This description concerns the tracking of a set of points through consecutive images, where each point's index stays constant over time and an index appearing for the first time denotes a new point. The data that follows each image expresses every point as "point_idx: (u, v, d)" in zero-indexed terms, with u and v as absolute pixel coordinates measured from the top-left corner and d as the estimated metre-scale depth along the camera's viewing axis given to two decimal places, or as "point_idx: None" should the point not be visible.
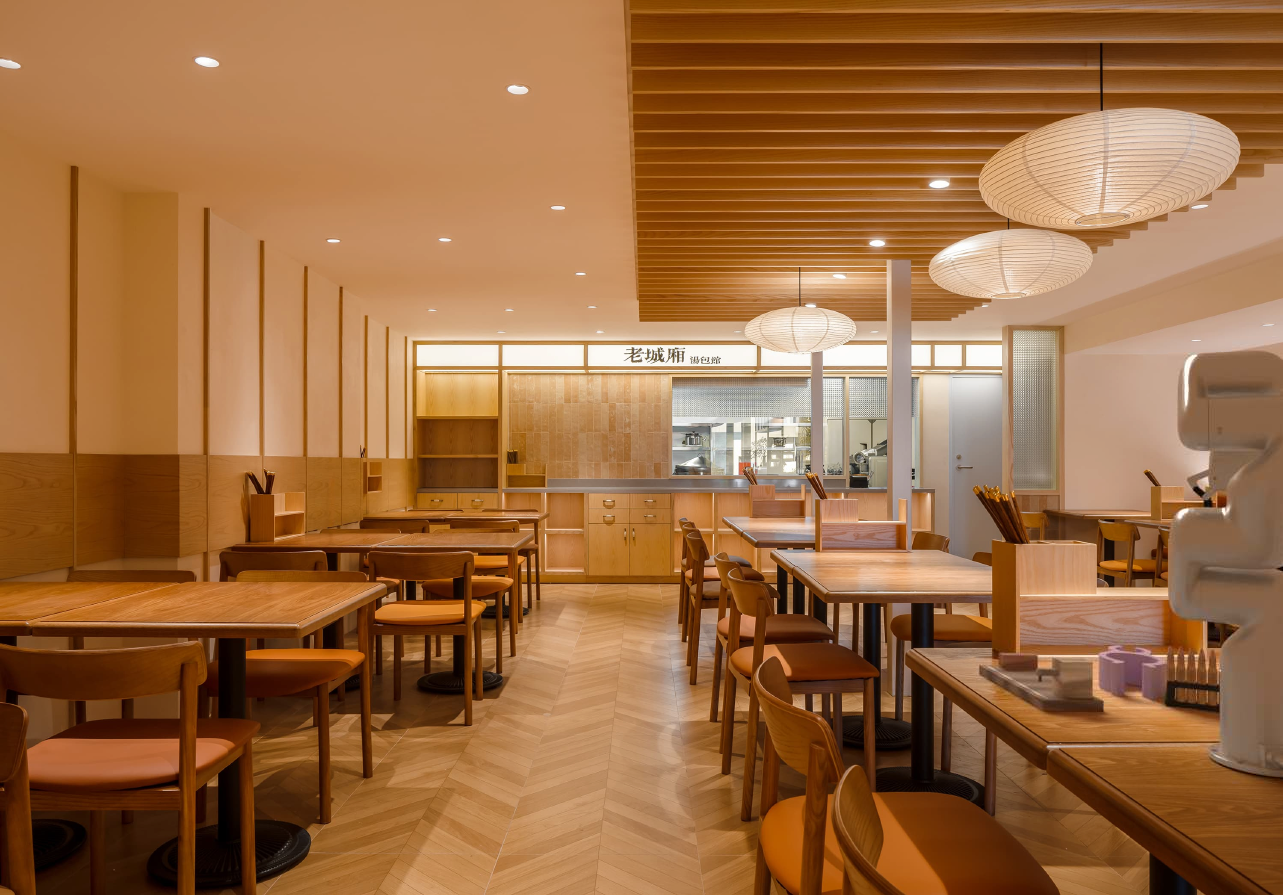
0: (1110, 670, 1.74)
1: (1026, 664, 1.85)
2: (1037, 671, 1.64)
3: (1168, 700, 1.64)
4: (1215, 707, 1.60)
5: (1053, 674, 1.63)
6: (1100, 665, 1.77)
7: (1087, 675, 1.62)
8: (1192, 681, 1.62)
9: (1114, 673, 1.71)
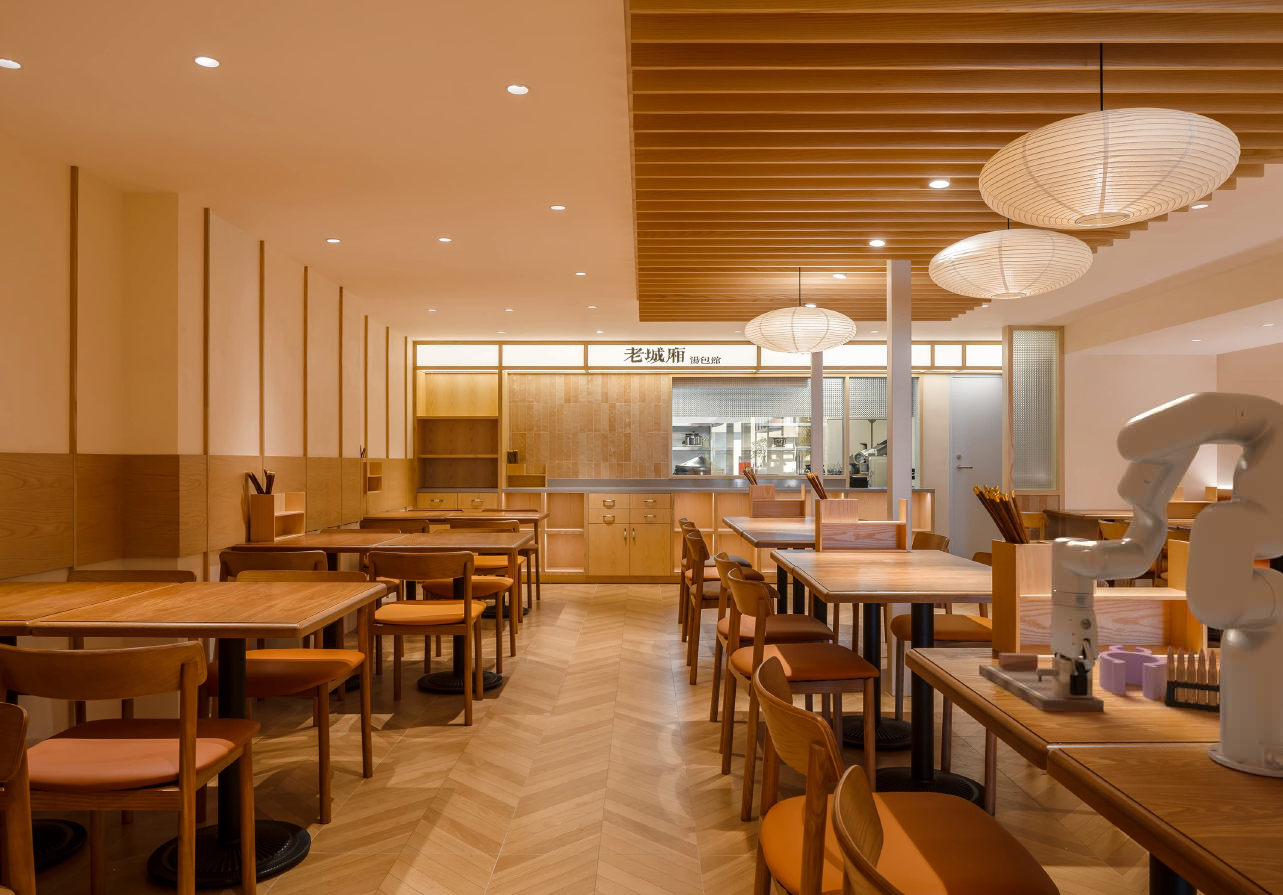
0: (1111, 670, 1.74)
1: (1026, 664, 1.85)
2: (1036, 671, 1.64)
3: (1168, 700, 1.64)
4: (1215, 707, 1.60)
5: (1053, 674, 1.63)
6: (1101, 665, 1.77)
7: None
8: (1192, 681, 1.62)
9: (1115, 673, 1.72)
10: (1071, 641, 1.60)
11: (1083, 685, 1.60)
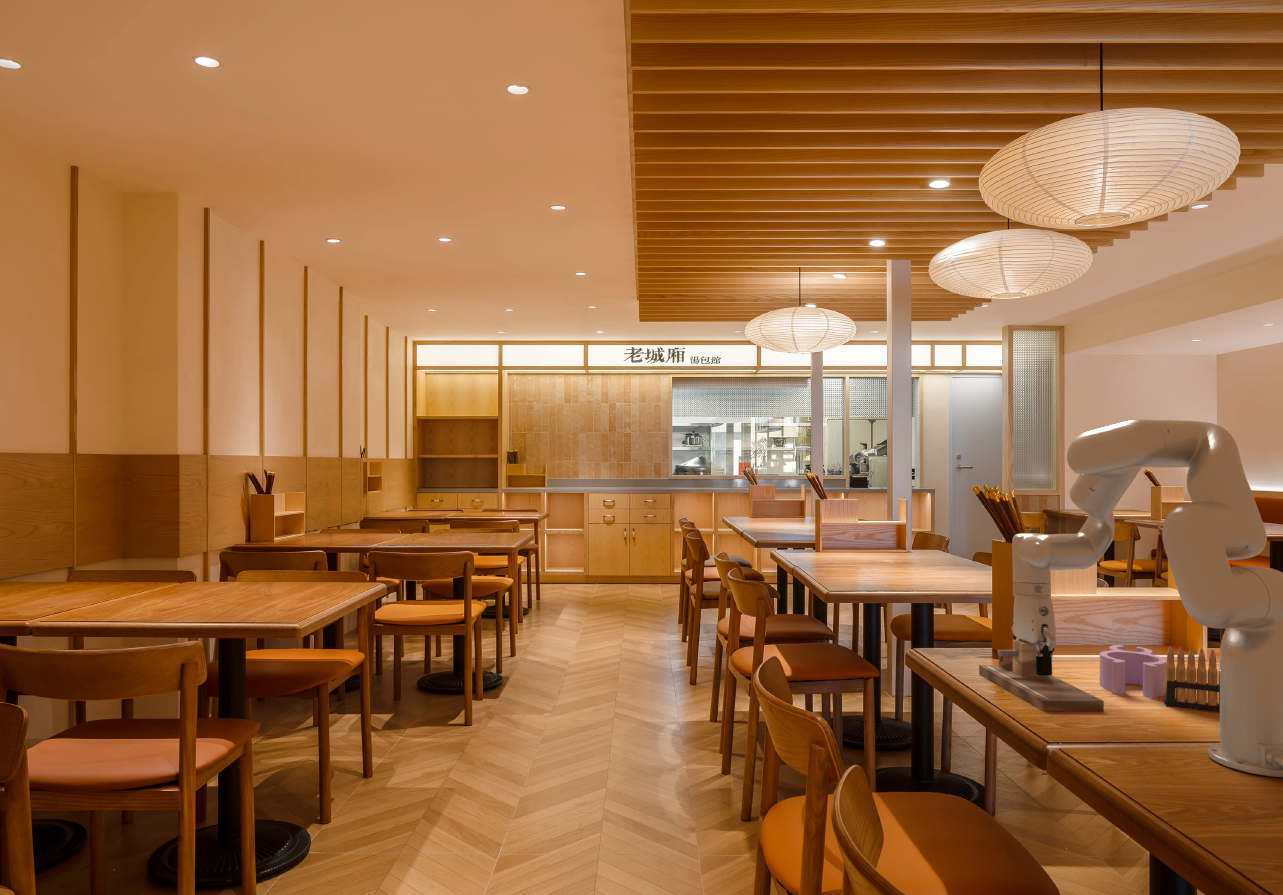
0: (1111, 669, 1.75)
1: None
2: (998, 652, 1.80)
3: (1168, 700, 1.64)
4: (1215, 707, 1.60)
5: (1013, 655, 1.79)
6: (1101, 664, 1.78)
7: None
8: (1192, 681, 1.62)
9: (1115, 672, 1.72)
10: (1031, 627, 1.76)
11: (1048, 665, 1.74)
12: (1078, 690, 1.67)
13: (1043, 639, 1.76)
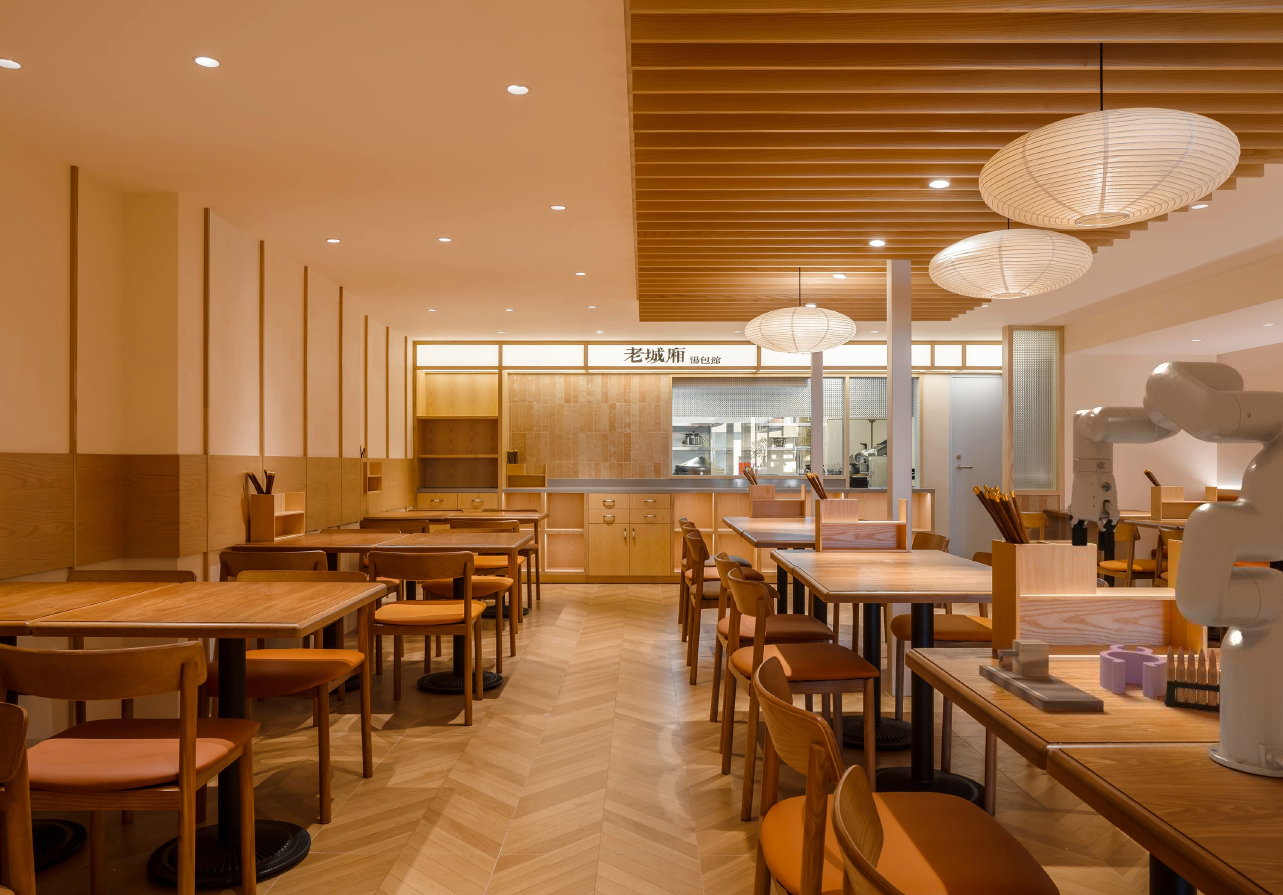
0: (1111, 669, 1.75)
1: None
2: (998, 652, 1.80)
3: (1168, 700, 1.64)
4: (1215, 707, 1.60)
5: (1013, 655, 1.79)
6: (1101, 664, 1.78)
7: (1044, 655, 1.78)
8: (1192, 681, 1.62)
9: (1115, 672, 1.72)
10: (1092, 504, 1.71)
11: (1110, 540, 1.69)
12: (1078, 690, 1.67)
13: (1104, 516, 1.72)
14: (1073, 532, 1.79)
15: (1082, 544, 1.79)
